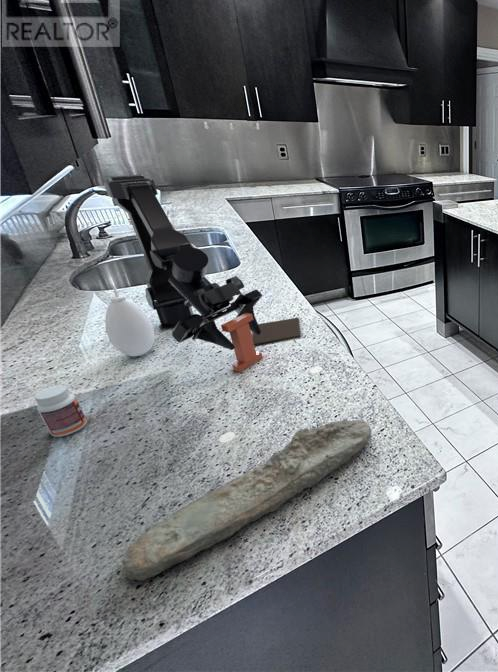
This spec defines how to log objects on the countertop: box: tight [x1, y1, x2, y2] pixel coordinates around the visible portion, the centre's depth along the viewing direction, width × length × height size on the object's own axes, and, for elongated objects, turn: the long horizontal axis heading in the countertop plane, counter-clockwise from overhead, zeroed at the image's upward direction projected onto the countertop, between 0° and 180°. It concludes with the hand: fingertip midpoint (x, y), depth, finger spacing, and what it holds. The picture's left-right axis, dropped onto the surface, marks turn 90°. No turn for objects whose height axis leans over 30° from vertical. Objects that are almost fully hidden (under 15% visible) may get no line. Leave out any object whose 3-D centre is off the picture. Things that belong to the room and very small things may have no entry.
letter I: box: [220, 313, 264, 373], centre depth 93 cm, size 2×6×12 cm, turn 163°
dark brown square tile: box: [252, 317, 302, 347], centre depth 109 cm, size 11×11×1 cm
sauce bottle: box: [104, 285, 156, 357], centre depth 94 cm, size 8×8×18 cm
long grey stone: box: [121, 419, 372, 582], centre depth 64 cm, size 35×5×10 cm
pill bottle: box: [34, 384, 88, 438], centre depth 73 cm, size 5×5×8 cm
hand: (247, 341), depth 93 cm, fingers open, 7 cm apart
